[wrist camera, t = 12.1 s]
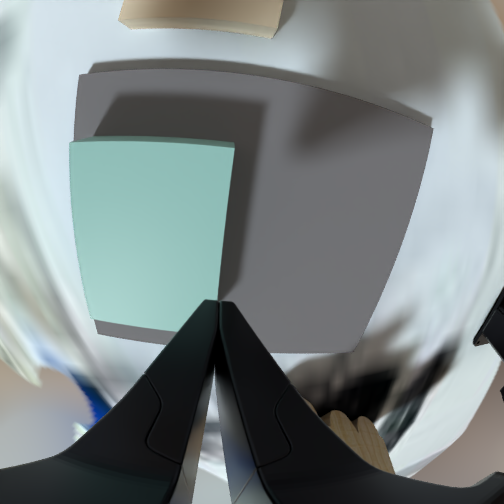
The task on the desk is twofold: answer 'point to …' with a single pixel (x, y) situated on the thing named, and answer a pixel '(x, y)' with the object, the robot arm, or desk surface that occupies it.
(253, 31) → the birch slab
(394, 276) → the desk surface
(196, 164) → the teal slab
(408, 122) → the mat
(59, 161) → the desk surface
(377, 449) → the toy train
